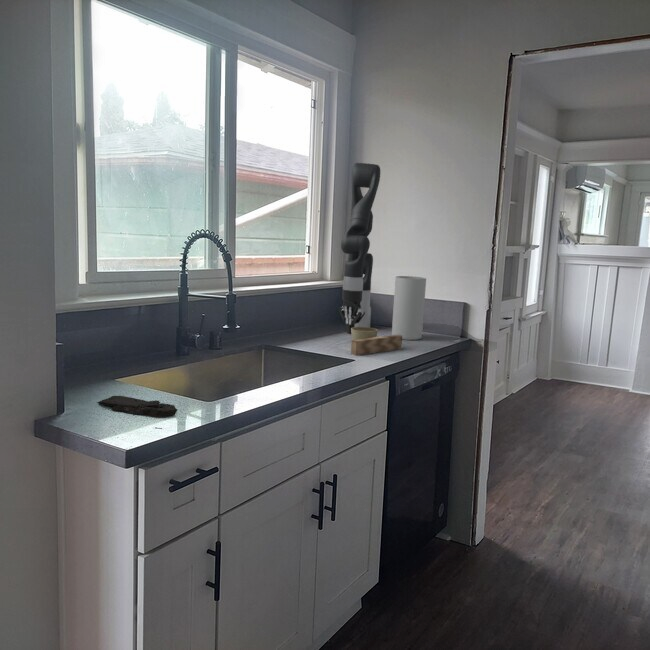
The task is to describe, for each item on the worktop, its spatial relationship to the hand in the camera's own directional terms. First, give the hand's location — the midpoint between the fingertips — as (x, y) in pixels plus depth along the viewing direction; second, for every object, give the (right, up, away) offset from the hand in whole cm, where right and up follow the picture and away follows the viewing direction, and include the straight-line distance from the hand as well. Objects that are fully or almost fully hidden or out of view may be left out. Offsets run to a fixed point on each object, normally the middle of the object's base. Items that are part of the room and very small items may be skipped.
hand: (350, 333), depth 237 cm
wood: (-54, -17, -91) cm, 107 cm away
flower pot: (+5, -5, -5) cm, 9 cm away
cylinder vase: (+24, -2, +21) cm, 32 cm away
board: (+9, -6, -10) cm, 15 cm away
